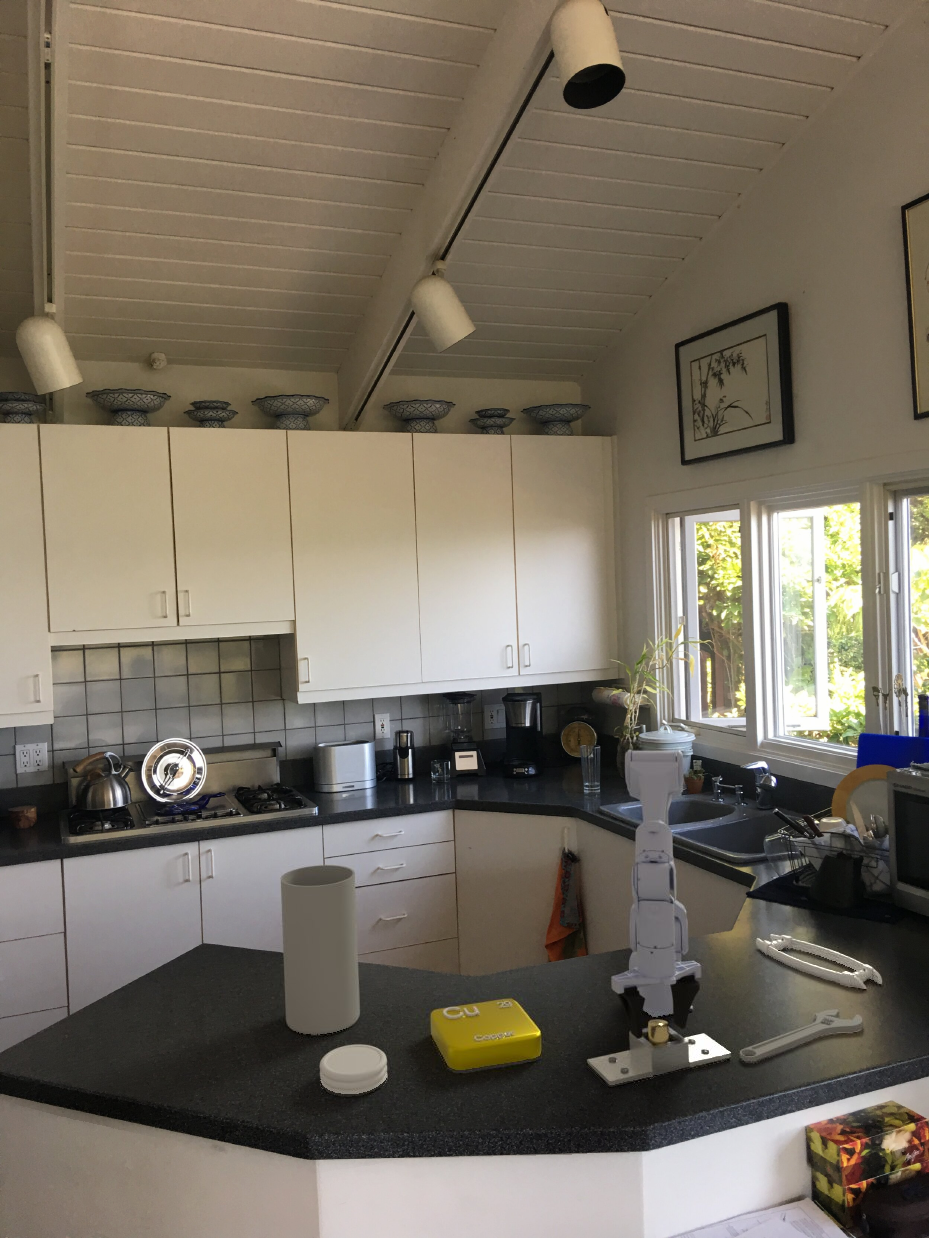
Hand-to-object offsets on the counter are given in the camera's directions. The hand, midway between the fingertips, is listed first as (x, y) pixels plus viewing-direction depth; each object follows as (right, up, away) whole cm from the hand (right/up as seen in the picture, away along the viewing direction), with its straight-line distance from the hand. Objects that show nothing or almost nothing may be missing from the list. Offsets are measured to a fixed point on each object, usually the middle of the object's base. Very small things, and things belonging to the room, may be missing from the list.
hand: (658, 1030), depth 143 cm
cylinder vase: (-54, -7, +19) cm, 57 cm away
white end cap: (-46, -7, -2) cm, 46 cm away
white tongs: (+37, -4, +35) cm, 51 cm away
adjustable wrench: (+24, -5, +7) cm, 25 cm away
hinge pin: (0, -5, 0) cm, 5 cm away
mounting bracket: (0, -5, 0) cm, 5 cm away
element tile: (-26, -6, +7) cm, 28 cm away
